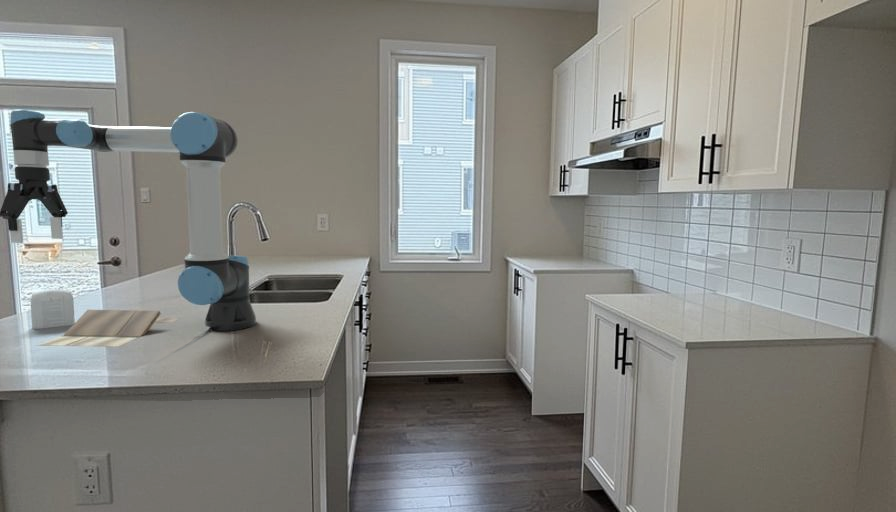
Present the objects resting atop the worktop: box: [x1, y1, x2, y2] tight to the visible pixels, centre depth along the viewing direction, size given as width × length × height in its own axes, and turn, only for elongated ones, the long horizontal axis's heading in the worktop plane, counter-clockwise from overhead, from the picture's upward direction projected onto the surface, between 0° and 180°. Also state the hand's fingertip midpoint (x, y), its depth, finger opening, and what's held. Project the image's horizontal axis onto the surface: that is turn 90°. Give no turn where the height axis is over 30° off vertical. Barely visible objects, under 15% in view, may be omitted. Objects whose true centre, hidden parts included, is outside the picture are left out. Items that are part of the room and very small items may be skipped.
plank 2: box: [153, 317, 181, 324], centre depth 155 cm, size 20×6×1 cm, turn 95°
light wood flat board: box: [37, 334, 140, 348], centre depth 132 cm, size 22×9×1 cm, turn 90°
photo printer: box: [29, 289, 76, 330], centre depth 146 cm, size 10×4×12 cm, turn 123°
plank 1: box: [63, 309, 161, 338], centre depth 142 cm, size 22×11×1 cm, turn 90°
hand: (38, 240), depth 139 cm, fingers open, 13 cm apart
